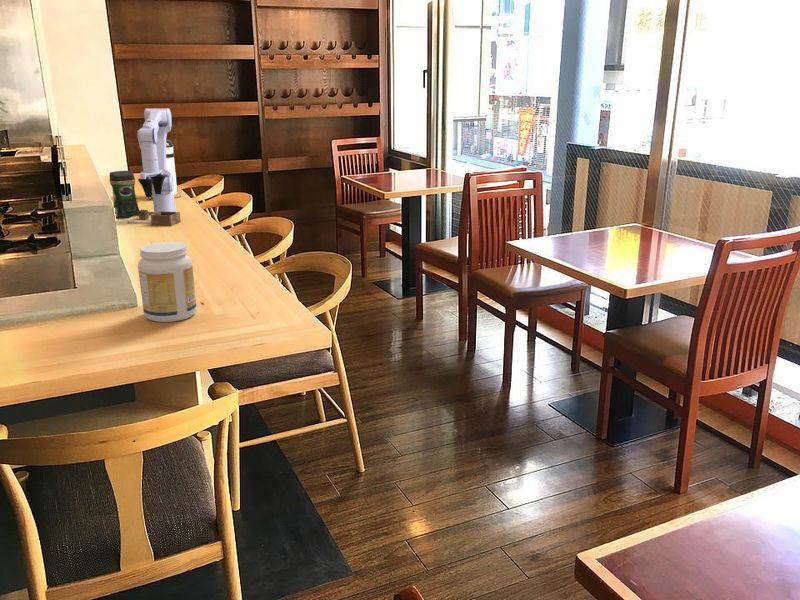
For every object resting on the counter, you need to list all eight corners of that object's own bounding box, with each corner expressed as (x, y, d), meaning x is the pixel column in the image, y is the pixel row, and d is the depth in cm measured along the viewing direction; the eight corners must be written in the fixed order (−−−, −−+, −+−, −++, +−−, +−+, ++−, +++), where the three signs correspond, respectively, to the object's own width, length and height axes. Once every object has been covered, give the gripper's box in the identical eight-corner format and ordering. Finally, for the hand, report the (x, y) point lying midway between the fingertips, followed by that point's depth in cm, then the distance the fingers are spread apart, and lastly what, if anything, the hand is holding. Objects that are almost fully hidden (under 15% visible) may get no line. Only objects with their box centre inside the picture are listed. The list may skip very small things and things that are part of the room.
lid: (139, 220, 271) (138, 208, 269) (160, 221, 270) (158, 208, 268) (128, 225, 262) (126, 212, 261) (149, 225, 261) (148, 212, 260)
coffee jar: (136, 213, 284) (131, 169, 278) (141, 216, 278) (136, 171, 272) (112, 216, 279) (106, 170, 273) (116, 219, 272) (110, 172, 267)
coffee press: (144, 197, 323) (136, 132, 314) (178, 194, 330) (172, 131, 321) (147, 202, 309) (140, 135, 299) (183, 200, 315) (177, 134, 306)
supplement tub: (178, 303, 171) (171, 238, 165) (207, 314, 163) (201, 245, 158) (133, 316, 162) (125, 247, 156) (162, 327, 154) (154, 255, 149)
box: (161, 222, 266) (160, 211, 265) (180, 223, 265) (179, 212, 264) (151, 226, 259) (150, 215, 257) (171, 227, 258) (170, 215, 256)
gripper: (149, 158, 268) (152, 192, 272) (130, 161, 254) (134, 198, 258) (166, 158, 267) (169, 193, 271) (148, 162, 254) (152, 198, 258)
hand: (153, 195), depth 265 cm, fingers open, 7 cm apart
